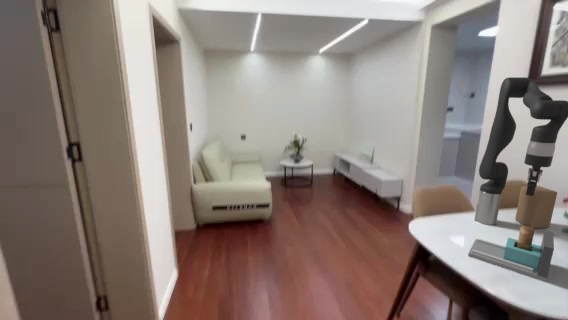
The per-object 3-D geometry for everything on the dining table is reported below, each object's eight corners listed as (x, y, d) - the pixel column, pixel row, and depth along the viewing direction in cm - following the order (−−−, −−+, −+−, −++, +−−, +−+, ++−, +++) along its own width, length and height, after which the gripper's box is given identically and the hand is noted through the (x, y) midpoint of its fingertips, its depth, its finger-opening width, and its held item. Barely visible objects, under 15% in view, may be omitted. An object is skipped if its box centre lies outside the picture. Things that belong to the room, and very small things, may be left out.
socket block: (503, 260, 105) (505, 246, 104) (505, 250, 112) (508, 237, 110) (537, 270, 98) (540, 256, 97) (537, 259, 105) (540, 246, 103)
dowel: (514, 257, 105) (520, 228, 102) (515, 253, 107) (521, 224, 104) (528, 261, 102) (534, 231, 99) (528, 257, 105) (534, 228, 102)
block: (530, 229, 133) (538, 192, 128) (513, 220, 143) (520, 185, 138) (550, 228, 133) (558, 191, 128) (532, 220, 143) (539, 185, 138)
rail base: (468, 256, 111) (472, 227, 108) (475, 241, 122) (479, 215, 119) (546, 282, 94) (554, 248, 91) (546, 262, 105) (553, 232, 102)
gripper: (553, 158, 93) (542, 200, 97) (553, 151, 102) (544, 190, 106) (525, 155, 98) (516, 195, 102) (528, 149, 107) (519, 185, 111)
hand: (530, 192), depth 104 cm, fingers open, 8 cm apart
